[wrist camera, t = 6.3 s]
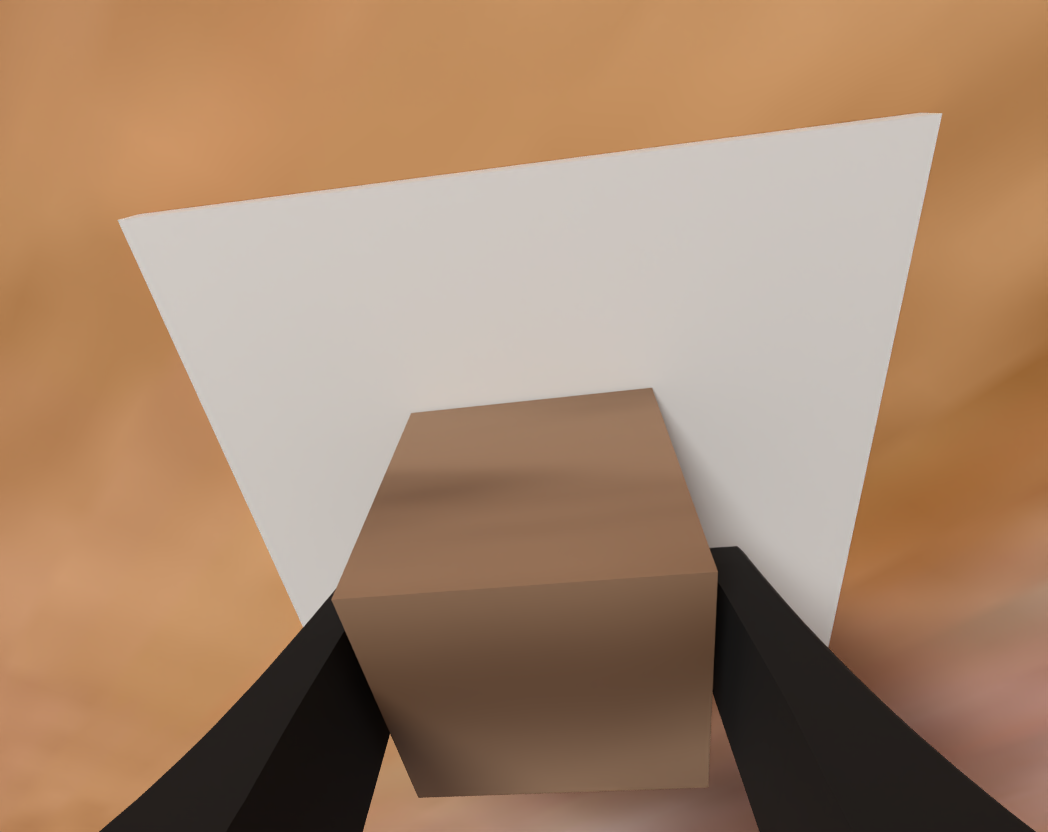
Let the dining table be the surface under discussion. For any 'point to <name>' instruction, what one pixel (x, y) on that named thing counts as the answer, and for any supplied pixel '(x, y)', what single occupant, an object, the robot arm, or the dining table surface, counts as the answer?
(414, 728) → the walnut cube
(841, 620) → the dining table surface
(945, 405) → the dining table surface
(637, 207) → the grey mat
